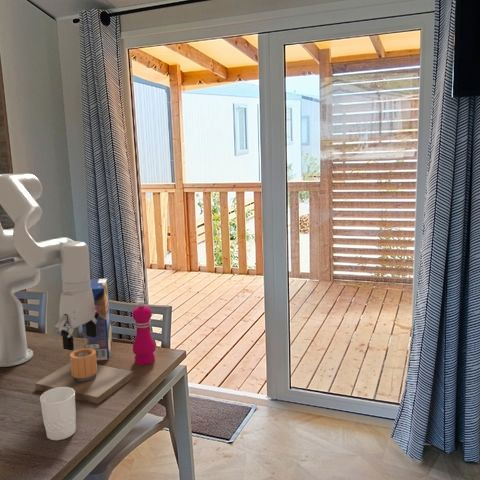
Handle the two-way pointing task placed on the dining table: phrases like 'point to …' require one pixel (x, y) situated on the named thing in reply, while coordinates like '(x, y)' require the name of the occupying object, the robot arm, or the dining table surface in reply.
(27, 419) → the dining table surface
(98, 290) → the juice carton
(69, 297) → the robot arm
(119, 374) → the post board
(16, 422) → the dining table surface
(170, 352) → the dining table surface
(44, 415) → the white cup
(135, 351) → the pepper mill
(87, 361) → the ring
